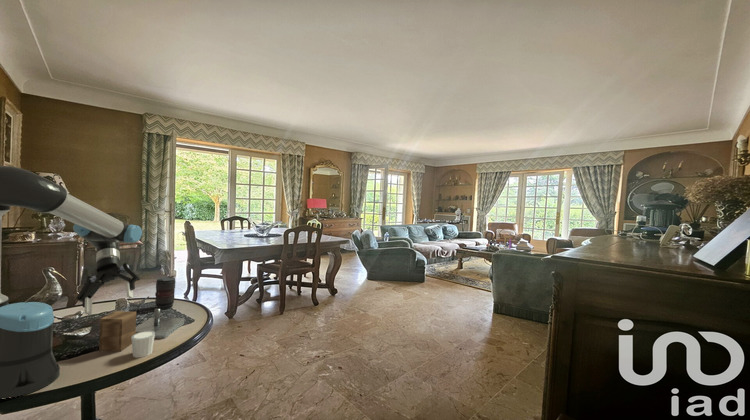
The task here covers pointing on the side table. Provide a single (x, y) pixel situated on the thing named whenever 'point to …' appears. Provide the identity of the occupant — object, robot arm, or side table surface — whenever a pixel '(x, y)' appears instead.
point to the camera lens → (165, 292)
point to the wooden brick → (117, 330)
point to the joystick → (160, 325)
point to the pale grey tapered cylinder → (142, 343)
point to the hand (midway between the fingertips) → (109, 305)
